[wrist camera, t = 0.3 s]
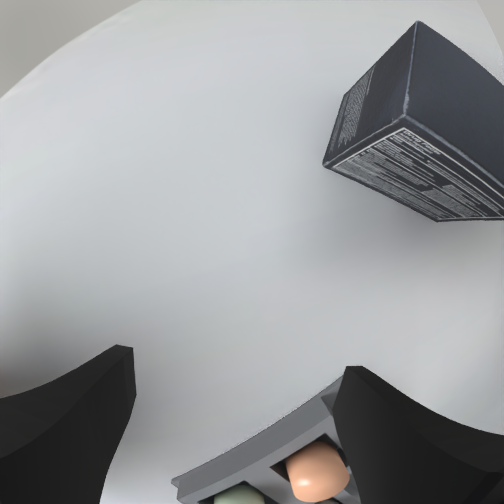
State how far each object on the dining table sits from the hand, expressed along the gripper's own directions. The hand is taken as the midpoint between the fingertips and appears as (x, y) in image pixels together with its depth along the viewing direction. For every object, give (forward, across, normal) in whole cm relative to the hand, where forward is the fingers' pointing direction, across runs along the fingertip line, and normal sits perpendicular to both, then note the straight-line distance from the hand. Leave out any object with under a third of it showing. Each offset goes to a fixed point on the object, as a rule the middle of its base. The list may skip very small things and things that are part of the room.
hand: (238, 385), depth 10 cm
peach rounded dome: (+7, -7, +12) cm, 16 cm away
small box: (+13, -10, -10) cm, 19 cm away
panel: (+8, -7, +17) cm, 20 cm away
